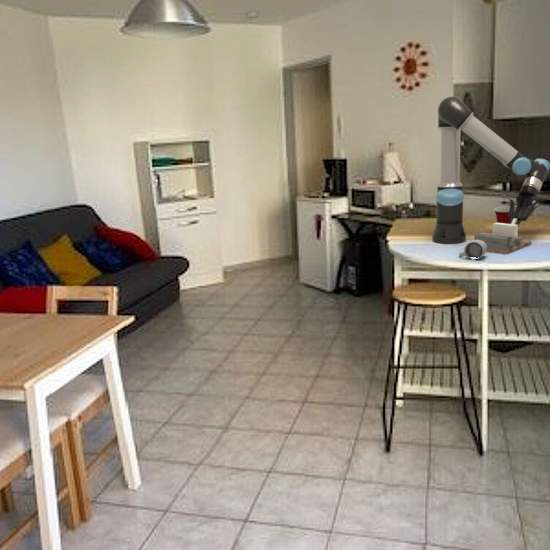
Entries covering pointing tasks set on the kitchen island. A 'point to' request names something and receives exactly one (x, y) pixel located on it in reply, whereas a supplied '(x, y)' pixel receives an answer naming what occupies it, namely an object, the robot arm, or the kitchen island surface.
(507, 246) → the housing
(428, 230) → the kitchen island surface
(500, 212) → the plastic cup
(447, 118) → the robot arm
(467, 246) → the ceramic mug
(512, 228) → the cream rectangular block
